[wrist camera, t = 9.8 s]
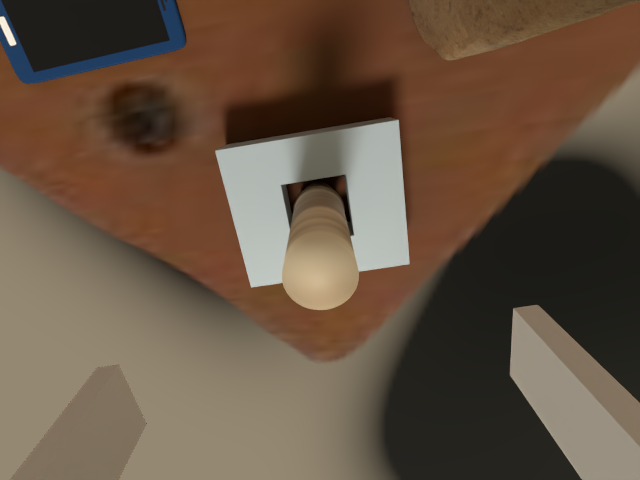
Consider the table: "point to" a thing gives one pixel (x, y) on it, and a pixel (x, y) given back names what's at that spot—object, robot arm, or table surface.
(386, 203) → the board
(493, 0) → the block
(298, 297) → the peg
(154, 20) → the cell phone
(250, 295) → the table surface
